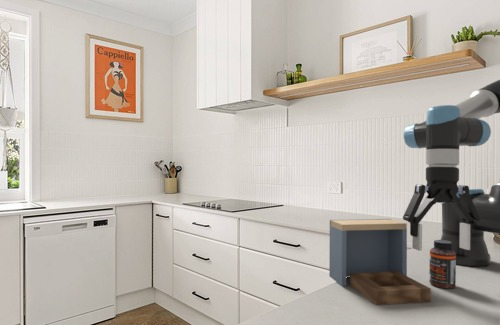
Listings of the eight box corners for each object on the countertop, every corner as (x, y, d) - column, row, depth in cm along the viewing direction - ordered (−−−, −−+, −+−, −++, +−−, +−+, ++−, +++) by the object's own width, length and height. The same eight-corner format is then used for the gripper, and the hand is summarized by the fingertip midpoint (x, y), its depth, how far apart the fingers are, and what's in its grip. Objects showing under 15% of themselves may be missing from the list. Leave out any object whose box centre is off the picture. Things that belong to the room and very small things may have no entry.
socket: (396, 282, 91) (396, 271, 91) (430, 301, 78) (430, 288, 78) (350, 284, 88) (350, 273, 88) (376, 304, 76) (376, 291, 76)
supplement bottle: (425, 285, 89) (425, 240, 89) (433, 280, 93) (433, 237, 93) (451, 291, 85) (451, 244, 85) (458, 285, 89) (458, 241, 89)
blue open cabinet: (389, 273, 98) (389, 218, 99) (406, 282, 90) (406, 223, 91) (329, 276, 95) (329, 219, 96) (341, 286, 88) (341, 224, 88)
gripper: (473, 167, 95) (472, 245, 94) (389, 165, 91) (388, 246, 90) (496, 167, 88) (496, 251, 87) (406, 164, 84) (405, 253, 83)
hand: (441, 249), depth 89 cm, fingers open, 13 cm apart
